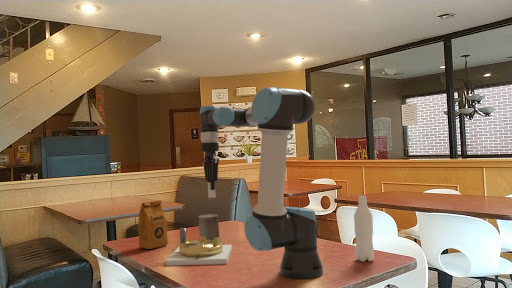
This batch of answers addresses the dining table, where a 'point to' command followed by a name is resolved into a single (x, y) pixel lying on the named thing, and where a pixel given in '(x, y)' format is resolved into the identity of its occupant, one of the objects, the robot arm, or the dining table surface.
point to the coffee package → (152, 226)
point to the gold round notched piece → (199, 246)
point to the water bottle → (363, 231)
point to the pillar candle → (209, 226)
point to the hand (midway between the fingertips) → (212, 197)
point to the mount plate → (200, 258)
